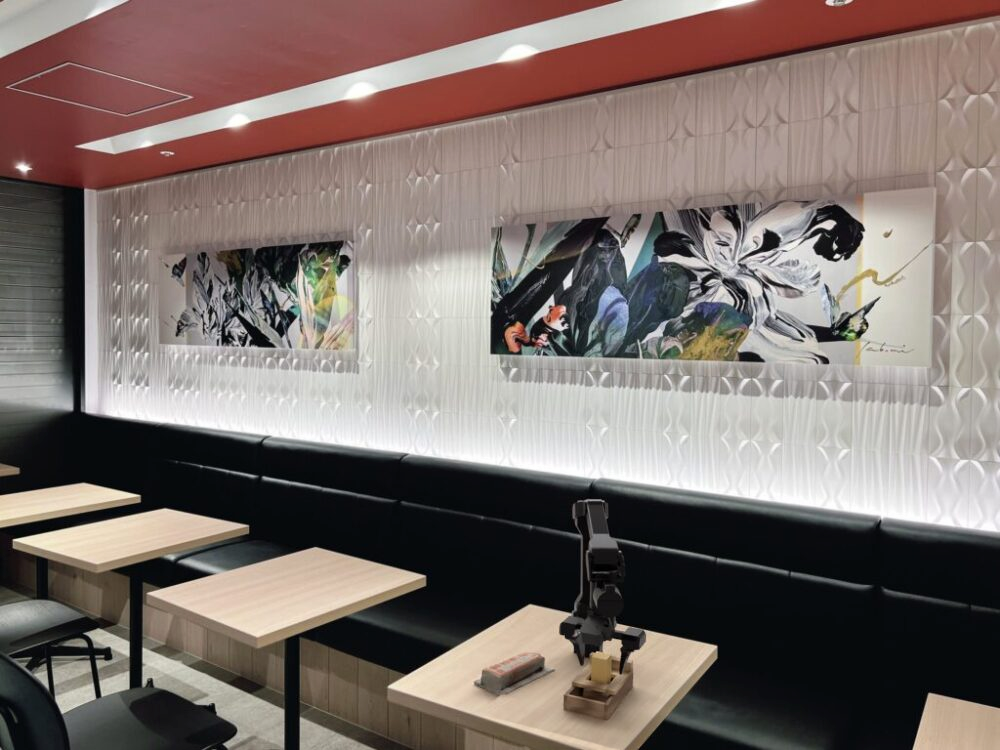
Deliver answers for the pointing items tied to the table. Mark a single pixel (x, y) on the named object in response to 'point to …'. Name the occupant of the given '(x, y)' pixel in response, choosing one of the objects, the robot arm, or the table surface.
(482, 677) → the packaged product
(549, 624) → the table surface
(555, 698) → the table surface
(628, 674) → the lid
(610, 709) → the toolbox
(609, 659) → the yellow rectangular block
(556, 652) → the table surface
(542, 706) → the table surface
